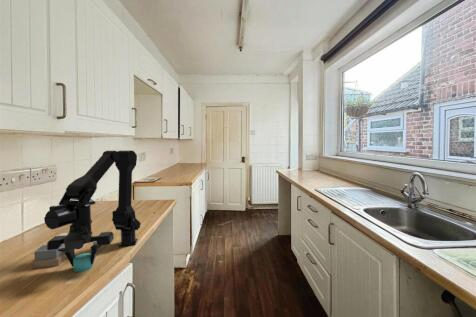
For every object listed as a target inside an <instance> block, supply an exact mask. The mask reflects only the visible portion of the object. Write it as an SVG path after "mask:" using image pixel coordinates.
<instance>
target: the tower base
mask: <svg viewBox="0 0 476 317" xmlns="http://www.w3.org/2000/svg"><path fill="white" fill-rule="evenodd" d="M66 259H68V258H67V256H66V255H65V253H63V252H62V253H61V254H60V255H59V256H58V257H57V258H55V259H46V260H37V261H35V258H34V259H33V260H32V261H31V268H32V269H41V268H51V267H59V266H60V265H61V264H62V263H64V261H65V260H66Z"/></svg>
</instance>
